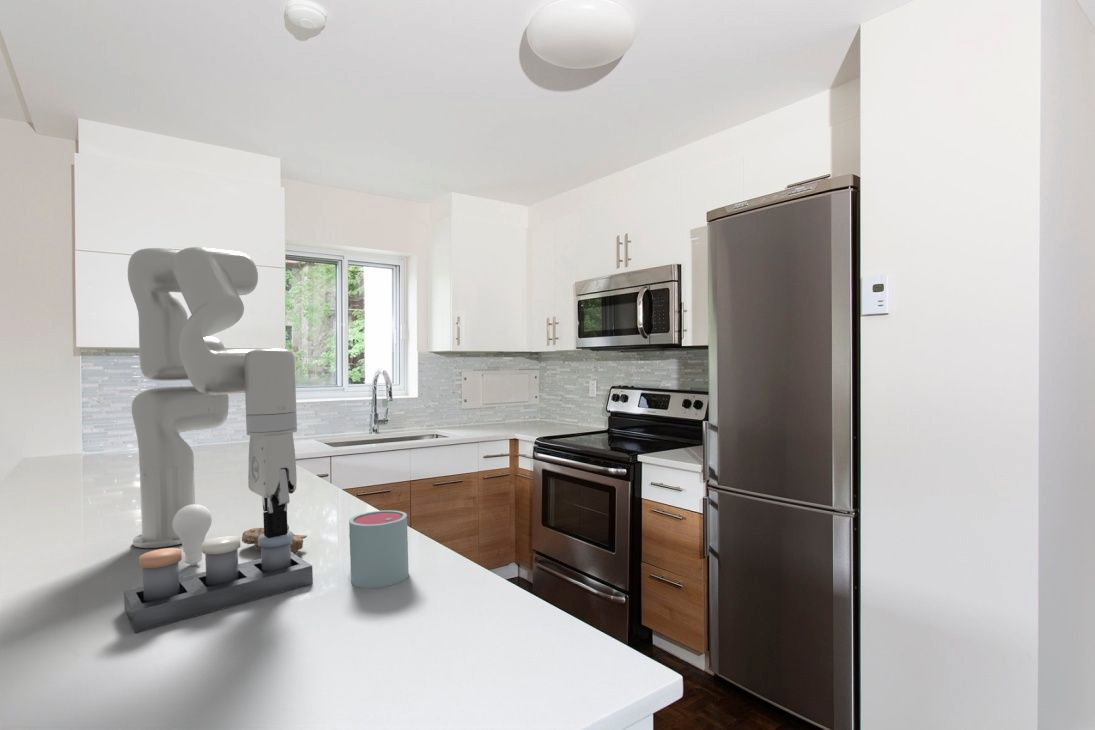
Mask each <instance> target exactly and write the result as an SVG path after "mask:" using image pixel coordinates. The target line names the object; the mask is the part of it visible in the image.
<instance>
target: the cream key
mask: <svg viewBox="0 0 1095 730" xmlns="http://www.w3.org/2000/svg"><path fill="white" fill-rule="evenodd" d="M239 548H241V537H240V536H237V535H226V536H218V537H213V538H210V539H207V540H204V542H203V543H202V554H203V555H204V557H205V558H204V559H205V560H204V561H205V572H206V584H207V585H208V586H215V585H219V584H223V583H227V582H231V581H235V580H238V578H239V576H238V564H239V553H238V552H239V550H238V549H239Z"/></svg>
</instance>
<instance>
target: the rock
mask: <svg viewBox="0 0 1095 730" xmlns="http://www.w3.org/2000/svg"><path fill="white" fill-rule="evenodd" d="M287 528H288V531H290V525H289V524H288V523H287ZM262 534H264V527H253V528H250V529H248V530H244V531H243V533H242V537H241V542H242V543H243V544H247V545H253V546H254V548H255V549H256V550H259V551H261V547H259V546H258V537H259V536H260V535H262ZM307 537H308V536H307V535H306V534H303V535H301V534H295V533H293V541H292V542H291V543H290V548H291V552H292V553H294V554H295V555H297V554H298V552H299V550H302V549H303V545H304V544H303V543H304V539H306V538H307ZM297 556H298V555H297Z"/></svg>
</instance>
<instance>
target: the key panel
mask: <svg viewBox="0 0 1095 730" xmlns="http://www.w3.org/2000/svg"><path fill="white" fill-rule="evenodd" d="M313 572H314V571H313V565H312V564H311V563H309V562H308V561H306V560H305V559H303V558H301V557H300V556H298V555H295V554H294V553H292V552H291V567H287V568H283V569H279V570H275V571H271V572H267V573H263V572H262V564H261V558H258V559H254V560H250V561H245V562H240V563H238V576H239V578H238V580H235V581H231V582H227V583H223V584H219V585H215V586H208V585H207V584H206V571H202V572H199V573H194V574H190V575H185V576H182V577H181V576H179V587H180V593H179V594H178V595H175V596H171V597H167V598H163V599H159V600H155V601H151V602H146V601H144V590H143V586H138V587H134V588H129V589H125V590H123V604H124V607H123V608H124V610H123V611H124V613H125V614H126V617H127V619H128V621H129V623H130V625H131V628H132V630H133V632H134V634H137V633H141V632H144V631H147V630H151V629H156V628H158V627H162V626H166V625H169V624H172V623H176V622H180V621H184V620H188V619H192V618H194V617H198V616H202V615H205V614H208V613H214V612H216V611H220V610H224V609H227V608H230V607H234V606H238V605H241V604H245V603H249V602H253V601H256V600H260V599H263V598H266V597H267V598H268V597H270V596H275V595H278V594H282V593H284V592H285V593H286V592H289V591H293V590H297V589H299V588H300V589H301V588H303V587H307V586H310V585H313V584H314V580H313V579H314V578H313V577H314V576H313V575H314V574H313Z"/></svg>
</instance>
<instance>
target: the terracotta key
mask: <svg viewBox="0 0 1095 730" xmlns="http://www.w3.org/2000/svg"><path fill="white" fill-rule="evenodd" d="M182 554H183V553H182V549H181V548H177V547H164V548H159V549H158V548H157V549H154V550H150V551H147V552H144V553H143V554H141V555H139V556H138V566H139V568H142V585H143V590H144V601H146V602H151V601H155V600H159V599H163V598H167V597H171V596H175V595H178V594H179V593H180V587H179V578H180V566H179V562H180V561H181V560H182Z"/></svg>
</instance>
